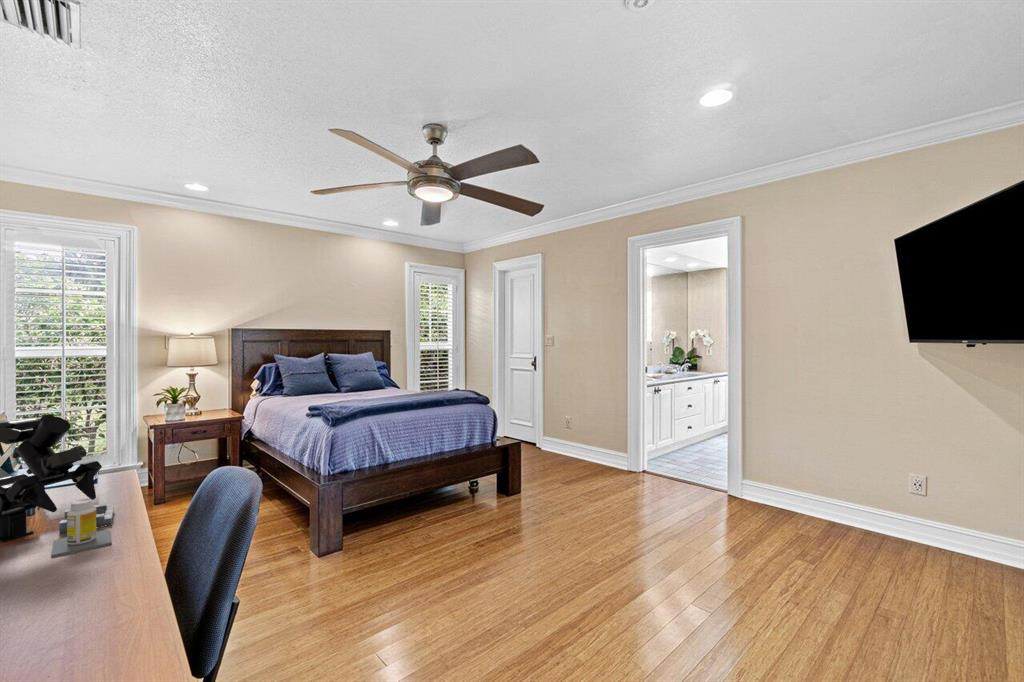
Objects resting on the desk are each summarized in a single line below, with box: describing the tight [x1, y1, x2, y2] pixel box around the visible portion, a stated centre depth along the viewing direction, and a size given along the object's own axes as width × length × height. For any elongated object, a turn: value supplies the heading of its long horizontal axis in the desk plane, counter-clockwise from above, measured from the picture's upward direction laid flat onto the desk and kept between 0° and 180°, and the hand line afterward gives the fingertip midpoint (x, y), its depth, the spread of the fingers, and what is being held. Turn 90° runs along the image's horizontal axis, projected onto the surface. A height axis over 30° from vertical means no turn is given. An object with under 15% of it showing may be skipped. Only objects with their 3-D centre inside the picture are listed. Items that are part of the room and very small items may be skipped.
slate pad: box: [50, 529, 112, 558], centre depth 122 cm, size 11×11×1 cm
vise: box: [58, 502, 115, 535], centre depth 134 cm, size 17×11×3 cm, turn 37°
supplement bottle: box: [66, 498, 97, 545], centre depth 122 cm, size 6×6×10 cm
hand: (75, 504), depth 122 cm, fingers open, 9 cm apart
